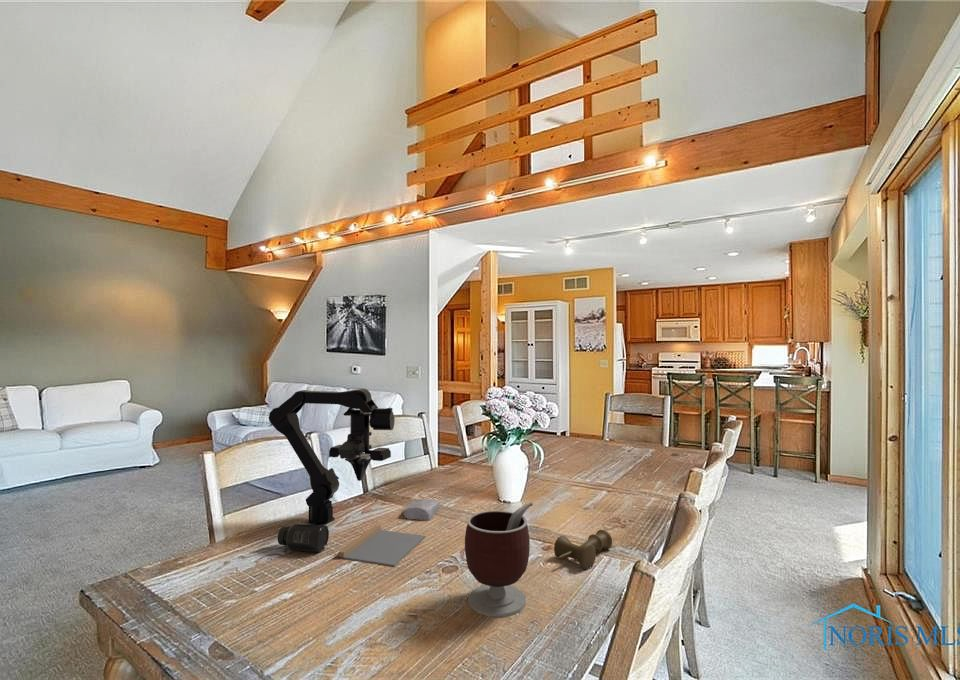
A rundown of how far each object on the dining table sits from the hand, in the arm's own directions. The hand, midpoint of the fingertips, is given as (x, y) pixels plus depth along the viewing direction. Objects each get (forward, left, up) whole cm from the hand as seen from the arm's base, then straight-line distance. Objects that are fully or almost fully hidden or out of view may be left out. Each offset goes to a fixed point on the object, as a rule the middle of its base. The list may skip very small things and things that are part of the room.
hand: (359, 480), depth 147 cm
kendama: (+68, -4, -14) cm, 70 cm away
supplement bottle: (+2, -21, -10) cm, 23 cm away
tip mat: (+16, -13, -13) cm, 25 cm away
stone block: (+15, +13, -14) cm, 24 cm away
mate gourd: (+53, -30, -13) cm, 62 cm away
